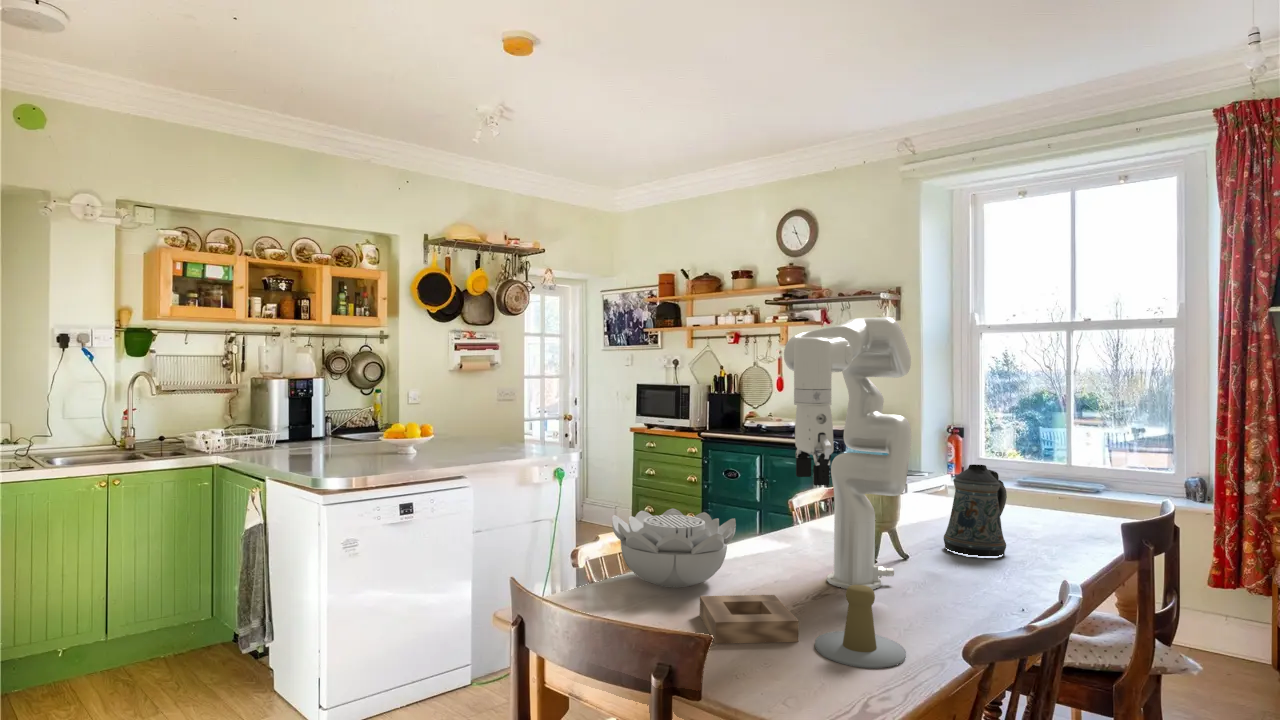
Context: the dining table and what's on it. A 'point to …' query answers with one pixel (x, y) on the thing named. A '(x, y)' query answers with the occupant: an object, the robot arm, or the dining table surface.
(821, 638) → the slate mat
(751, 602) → the walnut holder
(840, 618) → the dining table surface
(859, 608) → the cork
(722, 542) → the decorative bowl
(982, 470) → the beer stein
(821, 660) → the dining table surface
